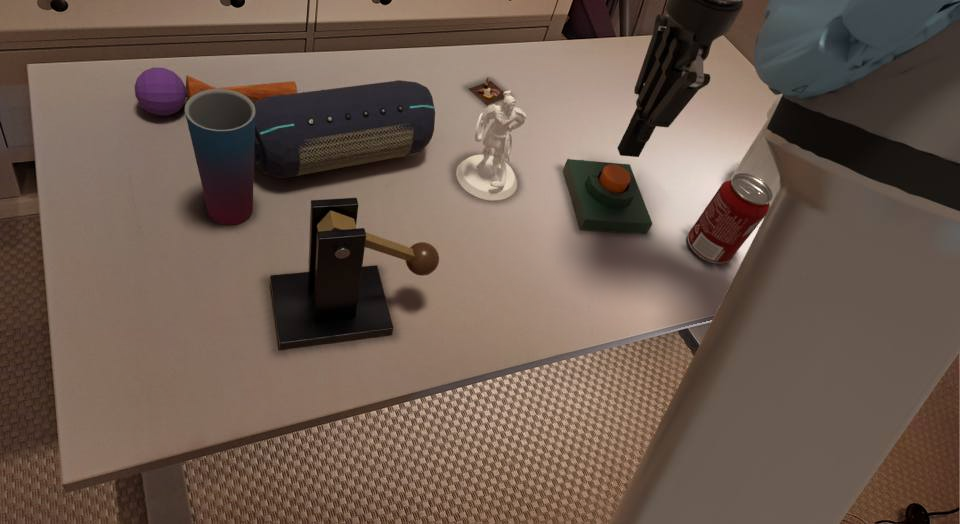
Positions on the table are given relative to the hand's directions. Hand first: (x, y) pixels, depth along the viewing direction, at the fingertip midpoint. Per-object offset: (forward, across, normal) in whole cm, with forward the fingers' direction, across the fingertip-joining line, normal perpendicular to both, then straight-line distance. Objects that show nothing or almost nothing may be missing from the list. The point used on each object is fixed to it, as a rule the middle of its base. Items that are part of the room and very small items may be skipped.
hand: (628, 152), depth 88 cm
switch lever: (0, -20, +34) cm, 39 cm away
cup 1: (+9, -6, +50) cm, 51 cm away
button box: (+9, 0, 0) cm, 9 cm away
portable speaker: (+9, +5, +37) cm, 39 cm away
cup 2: (+10, +4, -27) cm, 29 cm away
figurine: (+9, +3, +17) cm, 20 cm away
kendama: (+9, +13, +53) cm, 56 cm away
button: (+6, 0, 0) cm, 6 cm away
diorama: (+10, +23, +14) cm, 28 cm away
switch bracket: (+9, -20, +38) cm, 44 cm away
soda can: (+9, -8, -14) cm, 19 cm away
